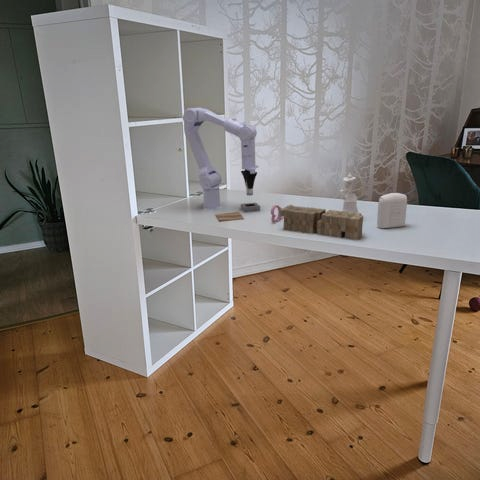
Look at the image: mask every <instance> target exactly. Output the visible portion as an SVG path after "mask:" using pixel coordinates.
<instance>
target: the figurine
mask: <svg viewBox="0 0 480 480" xmlns="http://www.w3.org/2000/svg"><path fill="white" fill-rule="evenodd" d="M355 179H356V176H353V175H352V173H351V172H349V173H347V175H346V176H345V177H344V178H343V179H342V180H343V181H344V182H346V183H347V184H346V185H345V189H339V192H346V193H344V196H343V198H342V199H341V200H342V201H343V204H342V205H343V206H342V210H341V211H345V212H353V213H359V211H358V206H357V200H359V198H358V197H357V195H356V194H355V193H353V192H352V190H353V185H354V184H353V182H354V181H355Z"/></svg>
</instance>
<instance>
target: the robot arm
mask: <svg viewBox="0 0 480 480" xmlns="http://www.w3.org/2000/svg"><path fill="white" fill-rule="evenodd" d="M182 120H183V131H184V134H185V137H186V140H187V142H188V144H189V146H190V149H191V152H192V153H193V156H194V159H195V162H196V164H197V166H198V169H199V173H198V177H199V185H200V186H201V188H202V190H203V193H202V194H203V204H202V205H201V206H202V208H203V210H204V211H209V210H211V211H212V210H220V209H223V206H222V205H221V195H220V184H221V183H222V176H221V175H220V173H219V172H218V171H217V168H216V167H215V166H213V165H212V163H211V161H210V159H209V156H208V153H207V151H206V149H205V147H204V144H203V141H202V139H201V136H200V134H199V129H200V127H201V126H202V124H203V123H205V121H208V122H211V123H212V124H215V125H218V126H220V127H223V129H224V131H225V132H226V133H229V134H231V135H232V136H233V135H234V136H235V137H237V138H239V140H240V145H241V146H240V147H241V148H240V149H241V150H240V151H241V152H240V153H241V169H242V170H240V173H241V174H242V177H243V180H244V185H245V186H246V182H247V187H248V189H253V190H254V184H255V180H256V176H258V172H257V171H256V169H257V168H259V165H256V164H257V163H256V140H255V139H256V137H257V134H258V133H257V128H255V127H254V126H253V125H251V124H249V125H247V123H246V122H241V121H239V120H237V118H236V117H229V118H228V119H227V118H225V117H223V116H221V115H219V114H218V113H217V114H216V113H215V112H213V111H211V110H210V109H208V108H204V107H202V106H200V107H199V106H198V107H188V108H186V109H185V110H184V112H183V114H182Z"/></svg>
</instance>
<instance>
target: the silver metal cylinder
mask: <svg viewBox="0 0 480 480" xmlns="http://www.w3.org/2000/svg"><path fill="white" fill-rule="evenodd" d="M245 188H246V196H254V188H253V189H248V187H247V182H246V185H245Z"/></svg>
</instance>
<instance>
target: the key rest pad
mask: <svg viewBox="0 0 480 480" xmlns="http://www.w3.org/2000/svg"><path fill="white" fill-rule="evenodd" d="M214 214H215V213H214ZM215 217H216V219H217V220H218V222H219V223H220V222H221V223H222V222H230V221H240V220H241V221H242V220H245V218H244V216H243V215H242V214H241V213H240V212H239V211H237V212H225V213H216V214H215Z"/></svg>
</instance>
